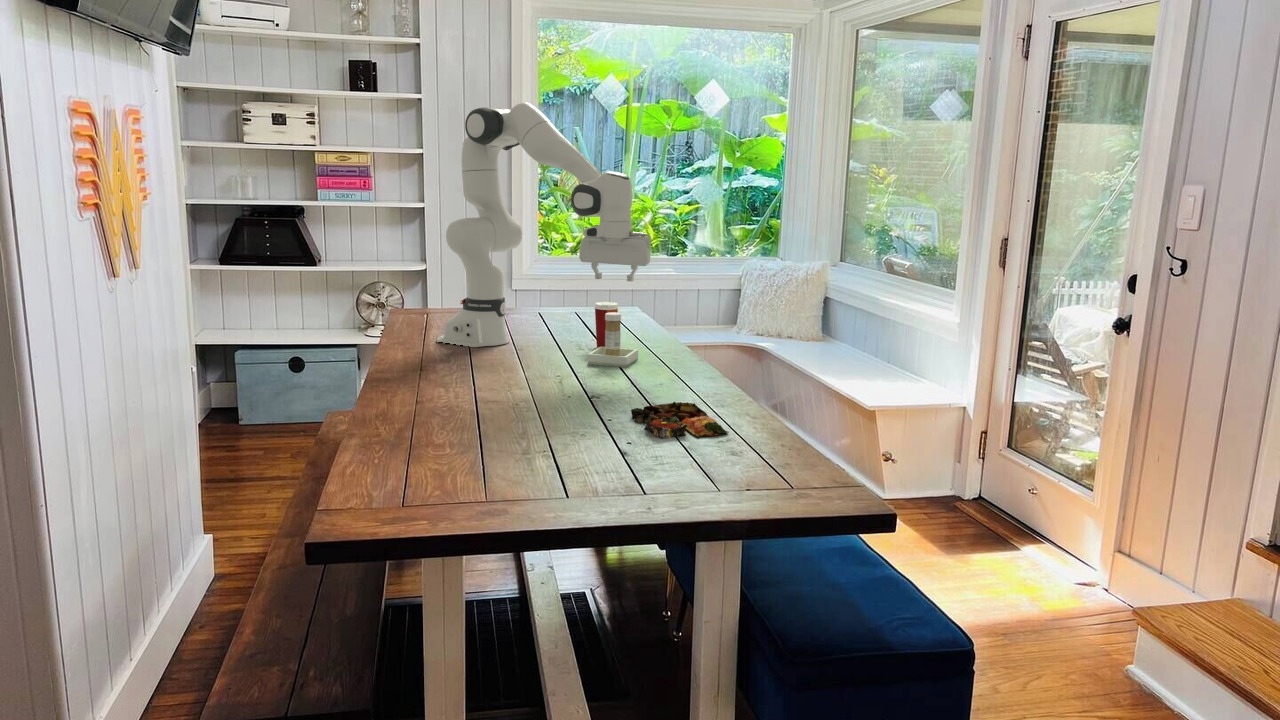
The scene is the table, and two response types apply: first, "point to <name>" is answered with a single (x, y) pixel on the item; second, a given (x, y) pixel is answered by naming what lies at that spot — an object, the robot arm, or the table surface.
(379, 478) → the table surface
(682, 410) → the food
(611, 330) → the sprinkles bottle
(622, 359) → the tray
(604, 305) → the paper cup
